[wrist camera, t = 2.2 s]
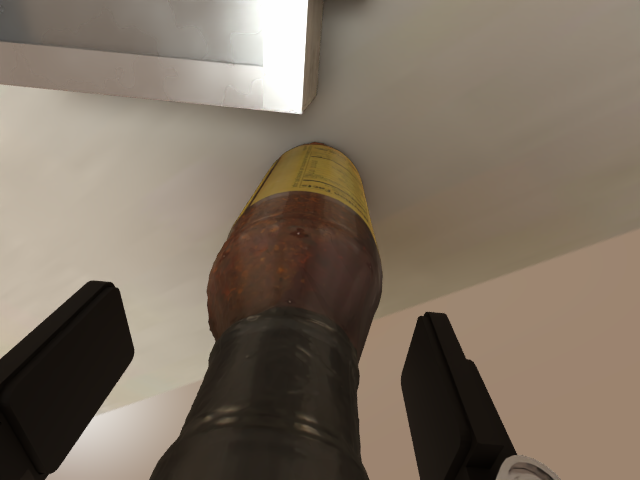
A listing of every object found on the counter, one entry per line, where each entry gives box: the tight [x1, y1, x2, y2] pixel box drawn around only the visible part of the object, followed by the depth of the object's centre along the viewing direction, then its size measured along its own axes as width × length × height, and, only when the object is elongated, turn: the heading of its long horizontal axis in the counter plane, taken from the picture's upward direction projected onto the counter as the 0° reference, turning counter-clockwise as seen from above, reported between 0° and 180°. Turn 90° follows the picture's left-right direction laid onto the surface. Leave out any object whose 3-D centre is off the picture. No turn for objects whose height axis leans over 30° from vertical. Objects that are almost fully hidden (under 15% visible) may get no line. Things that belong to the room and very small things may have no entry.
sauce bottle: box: [149, 142, 382, 480], centre depth 14 cm, size 7×6×20 cm
